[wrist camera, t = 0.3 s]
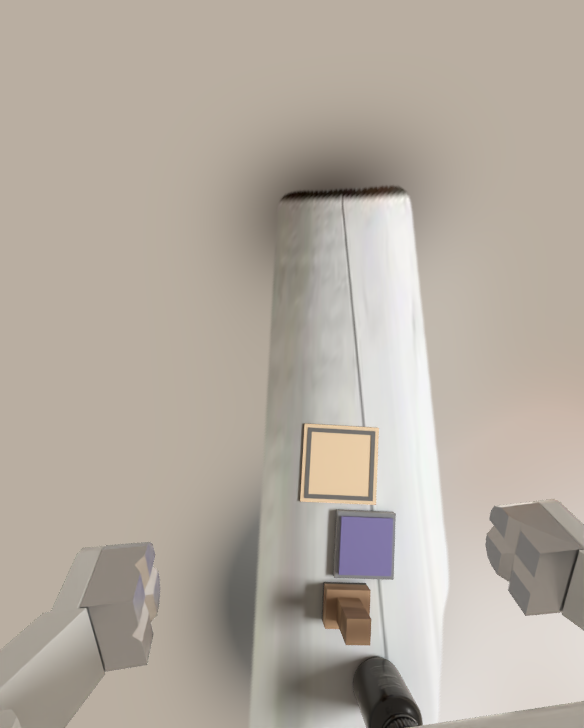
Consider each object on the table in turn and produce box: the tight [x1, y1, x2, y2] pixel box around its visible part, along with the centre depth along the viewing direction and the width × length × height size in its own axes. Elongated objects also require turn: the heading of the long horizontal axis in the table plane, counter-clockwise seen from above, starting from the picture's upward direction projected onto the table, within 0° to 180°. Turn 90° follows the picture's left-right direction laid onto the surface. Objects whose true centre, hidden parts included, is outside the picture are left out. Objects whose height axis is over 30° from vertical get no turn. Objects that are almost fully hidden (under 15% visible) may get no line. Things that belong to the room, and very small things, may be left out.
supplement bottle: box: [353, 657, 423, 728], centre depth 54 cm, size 7×7×12 cm
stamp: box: [322, 582, 371, 645], centre depth 57 cm, size 5×6×9 cm
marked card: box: [300, 424, 379, 505], centre depth 63 cm, size 11×11×1 cm
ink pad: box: [333, 510, 396, 580], centre depth 61 cm, size 9×8×2 cm
